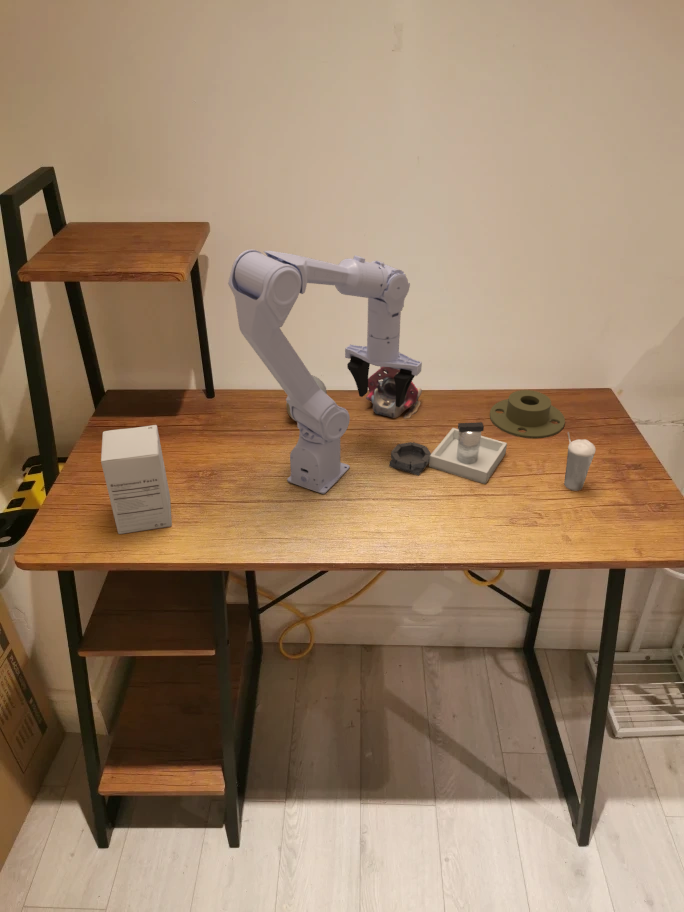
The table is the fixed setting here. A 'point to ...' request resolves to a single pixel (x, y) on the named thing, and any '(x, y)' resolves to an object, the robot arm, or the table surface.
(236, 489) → the table surface
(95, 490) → the table surface
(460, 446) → the silver cylinder with bar
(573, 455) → the milkshake
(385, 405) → the brake caliper
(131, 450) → the supplement box
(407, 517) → the table surface
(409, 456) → the stud mount
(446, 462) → the bin
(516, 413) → the flange
